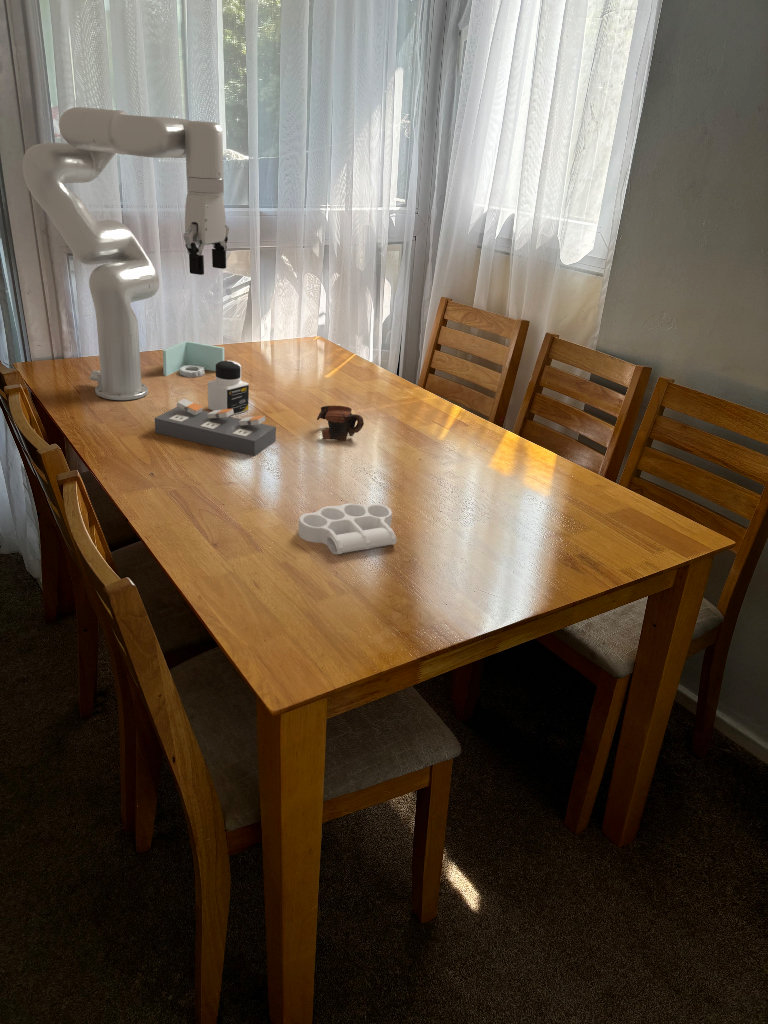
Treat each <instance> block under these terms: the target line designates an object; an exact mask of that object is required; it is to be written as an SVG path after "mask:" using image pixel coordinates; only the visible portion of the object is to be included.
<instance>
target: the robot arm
mask: <svg viewBox="0 0 768 1024" xmlns="http://www.w3.org/2000/svg"><path fill="white" fill-rule="evenodd" d="M58 128H59V129H58V130H59V132H60V135H61V137H62V138H63V140H64V141H65V142H45V143H44V142H43V143H37V144H35V145H32V146H31V147H29V148H28V149H27V150H26V151H25V153H24V155H23V157H22V174H23V178H24V182H25V184H26V187H27V189H28V190H29V192H30V194H31V195H32V197H33V198H34V200H35V202H37V204H38V205H39V206H40V207H41V208H42V209H43V211H44V212H45V214H46V215H47V216H48V217H49V219H50V220H51V221H52V223H53V225H54V226H55V228H56V230H57V231H58V232H59V234H60V235H61V237H62V238H63V240H64V242H65V243H66V245H67V247H68V248H69V249H70V251H71V252H72V254H73V255H74V256H75V258H76V259H77V260H78V261H79V262H80V263H82V264H84V265H87V266H88V265H89V266H92V265H98V266H96V267H95V268H94V269H93V270H92V272H91V273H90V275H89V279H88V285H89V291H90V295H91V298H92V303H93V306H94V311H95V320H96V331H97V344H98V356H99V370H96V369H93V370H92V371H91V374H90V375H89V380H91V381H96V382H97V385H96V386H95V389H94V390H95V395H97V396H98V397H99V398H100V397H101V398H102V399H106V400H111V401H132V400H137V399H141V398H143V397H145V396H147V394H148V393H149V388H148V386H147V385H146V384H144V383H142V372H141V371H142V369H141V354H140V353H141V352H140V351H141V348H140V332H139V322H138V318H137V315H136V313H135V312H134V310H133V308H132V305H131V303H134V302H138V301H144V300H146V299H150V298H152V297H153V296H155V295H156V294H157V292H158V290H159V288H160V279H159V274H158V271H157V269H156V268H155V266H154V264H153V262H152V261H151V259H150V257H149V256H148V254H147V253H146V251H145V250H144V248H143V247H142V245H141V243H140V242H139V240H138V238H136V236H135V234H133V231H131V229H130V228H129V227H127V225H125V224H124V223H122V222H120V221H117V220H114V219H113V220H111V219H110V220H98V219H96V218H95V217H94V216H93V214H92V213H91V212H90V211H89V209H88V208H87V206H86V204H85V203H84V202H83V200H82V199H81V198H80V197H79V196H78V195H77V194H76V193H74V192H73V191H72V190H70V189H69V188H68V187H67V186H66V185H65V184H78V183H79V184H82V183H83V184H85V183H90V182H92V181H94V180H95V179H97V178H98V177H99V175H101V173H102V172H103V171H104V170H105V168H106V167H107V165H108V164H109V163H110V162H111V160H112V159H113V158H114V156H115V155H116V154H118V155H123V156H124V155H127V156H135V157H143V158H144V157H145V158H153V159H157V158H159V159H164V158H166V159H167V158H169V159H170V158H171V159H185V166H186V169H185V170H186V187H187V193H186V199H185V208H184V233H183V237H182V238H183V240H184V243H185V248H186V250H187V254H188V259H189V261H188V263H189V264H188V265H189V274H192V275H199V276H202V275H205V261H204V259H205V257H204V255H203V250H204V248H205V246H209V245H212V247H213V248H212V249H211V261H212V262H211V263H212V268H214V269H222V270H225V269H227V248H228V245H227V244H228V240H229V237H228V236H229V233H230V232H229V230H230V229H229V228H230V227H228V225H226V224H227V223H226V221H227V220H226V210H225V201H224V195H225V188H224V185H225V182H224V180H225V179H224V152H223V151H224V147H223V146H224V145H223V144H224V141H223V139H224V137H223V129H222V127H221V125H220V124H219V123H217V122H213V121H212V122H211V121H202V120H191V119H190V120H189V119H184V118H180V117H179V118H178V117H177V118H175V117H164V116H149V115H148V116H146V115H131V114H128V113H127V112H125V111H123V110H117V109H105V108H95V107H94V108H93V107H86V106H85V107H84V106H78V107H77V106H76V107H71V108H68V109H67V110H65V111H64V112H63V113H62V114H61V116H60V117H59V119H58ZM100 264H101V265H100Z"/></svg>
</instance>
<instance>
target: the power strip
mask: <svg viewBox="0 0 768 1024" xmlns="http://www.w3.org/2000/svg"><path fill="white" fill-rule="evenodd" d="M210 412H211V411H206V410H202V412H200V413H199V414H197V415H193V414H191V413H189V412H187V411H185V410H184V409H182V408H180V407H178V406H176V407H173V408H171V409H170V410H168V411H166V412H164V413H161V414H160V415H158V416H156V417H154V433H155V434H159V435H163V436H167V437H171V438H176V439H181V440H185V441H189V442H193V443H198V444H201V445H206V446H210V447H215V448H219V449H224V450H227V451H230V452H231V451H232V452H236V453H240V454H244V455H249V456H252V457H256V456H257V455H258V454H260V453H261V452H262V451H263V450H265V449H266V448H268V447H270V446H271V445H273V443H276V441H277V439H276V435H277V426H274V425H269V424H265V423H261V424H257V425H240V424H239V421H240V420H242V419H243V418H239V417H238V418H237V417H233V416H228V417H223V418H208V415H207V414H208V413H210Z"/></svg>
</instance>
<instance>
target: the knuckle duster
mask: <svg viewBox="0 0 768 1024" xmlns="http://www.w3.org/2000/svg"><path fill="white" fill-rule="evenodd" d="M392 515H393V513H392V509H391V508H390V507H389V506H386V505H385V504H381V503H377V502H376V503H375V502H373V503H369V504H359V503H350V502H349V503H343V504H341V505H327V506H324V507H320V508H319V509H318V510H317V511H314V512H308V513H307V512H305V513H302V514H301V515H300V517H299V518H298V532H297V533H298V536H299V537H300V539H302V540H304V541H306V542H311V543H317V544H318V543H319V544H320V543H321V544H324V545H326V546H327V547H328V549H329V551H330V552H331V553H332V554H333V555H342V554H346V553H350V552H357V551H362V550H364V551H365V550H370V549H374V548H380V547H385V546H390V545H391V546H393V545H396V544H397V536H396V533H395V532H394V529H393V528H391V523H392Z"/></svg>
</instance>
